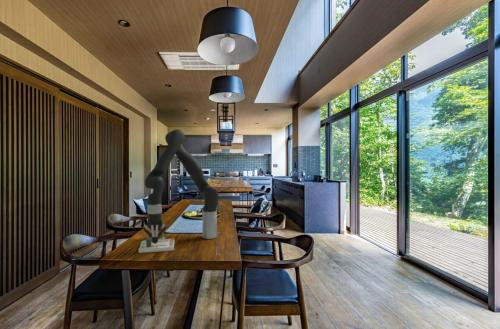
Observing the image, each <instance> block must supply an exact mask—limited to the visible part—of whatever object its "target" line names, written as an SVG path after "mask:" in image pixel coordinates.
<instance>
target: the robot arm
mask: <svg viewBox="0 0 500 329" xmlns="http://www.w3.org/2000/svg"><path fill="white" fill-rule="evenodd" d="M185 139H186V136H185V133H184V132H183V130H181V129H178V128H175V129H173V130H171V131H169V132H168V133H166V135H165V138H164V140H165V142H166V144H167V146H166V148H165V150H164V151H163V153H161V154H160V156H159V157H158V159H157V161H156V164H155V165H154V167H153V169H152V170H151V171H150V172H149V173H148V175H147V176H146V178H145V179H144V185H145V188H146V189H150V190H152V193H149V194H148V195H147V212H146V213H147V223H146V225H145V226H144V227H142V230H143V231H144V233H146V235H147V236H148V237H149V236H151V237H152V242H153V243H154V244H157V242H158V240H159V239H158V236H160V235H161V234H162V233H163V232H165V230H166V229H167V227H168V226H167V224H166V225H165V224H163V223H164V221H163V222H162V219H163V208H162V194H163V192H164V187H165V180H164V179H163V177H162V176H165V175H166V173H167V172H168V169H169V167H170V165H171V163H172V162H173V161H172V160H174V157H175V156H176V157H177V158H178V160H179V162H180V163H181V165H182V166H183V168H184V170H185V171H186V172H187V174H188V176H189V177H190V178H191V180H192V181H193V182H194V184H195V185H196V188H197V189H198V192H199V193H200V195H201V197H202V198H203V199H204V204H203V206H202V233H201V234H202V236H201V237H202V239H205V240H206V239H207V240H210V239H212V240H213V239H217V238H218V222H217V221H218V220H217V219H218V218H217V217H218V216H217V215H218V213H217V212H218V211H217V210H218V206H219V191H218V189H217V188H216V187H215V186H211V185H210V184H209V182H208V181H207V179H206V178H205V175H204V171H203V168H202V166H201V165H200V163H199V161H198V160H197V158H196V157H195V156H193V155H192V154H190V153H189V152H188V151H187V150H186V149H185V148H184V146H183V145H182V144H183V143H184V141H185ZM161 226H162V230H161V231H160V233H158V230H159V229H160V228H161ZM155 231H156V234H155Z"/></svg>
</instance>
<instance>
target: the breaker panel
mask: <svg viewBox="0 0 500 329" xmlns="http://www.w3.org/2000/svg"><path fill="white" fill-rule="evenodd" d="M174 249H175V238H167V239H166V238H164V239H158V242H157V244H154V243H153V242H151V247H146V240H142V242H141V244H140V246H139V248H138V253H139V254H140V253H142V254H143V253H155V252H157V253H158V252H169V251H174Z"/></svg>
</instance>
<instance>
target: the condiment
mask: <svg viewBox="0 0 500 329" xmlns="http://www.w3.org/2000/svg"><path fill="white" fill-rule="evenodd" d="M162 222H163V224H164V219H163V218H162ZM164 225H165V224H164ZM161 230H162V226H161V228H160V229H159V230H158V233H160V231H161ZM164 232H165V231H164ZM164 232H163V233H162V234H161V235H160V236H158V240H163V239H166V237H165V236H164ZM155 234H156V231H155Z"/></svg>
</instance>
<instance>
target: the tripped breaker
mask: <svg viewBox="0 0 500 329" xmlns="http://www.w3.org/2000/svg"><path fill="white" fill-rule="evenodd" d="M145 241H146V247H151V238H149V237H147V238H146V239H145Z"/></svg>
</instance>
